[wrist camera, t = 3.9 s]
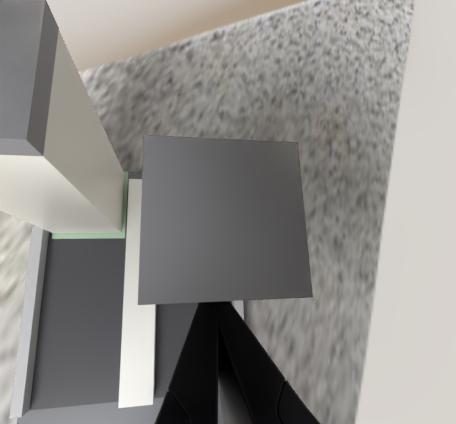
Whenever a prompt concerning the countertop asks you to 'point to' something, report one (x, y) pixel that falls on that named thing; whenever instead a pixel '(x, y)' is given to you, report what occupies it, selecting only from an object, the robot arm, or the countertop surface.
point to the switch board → (95, 329)
